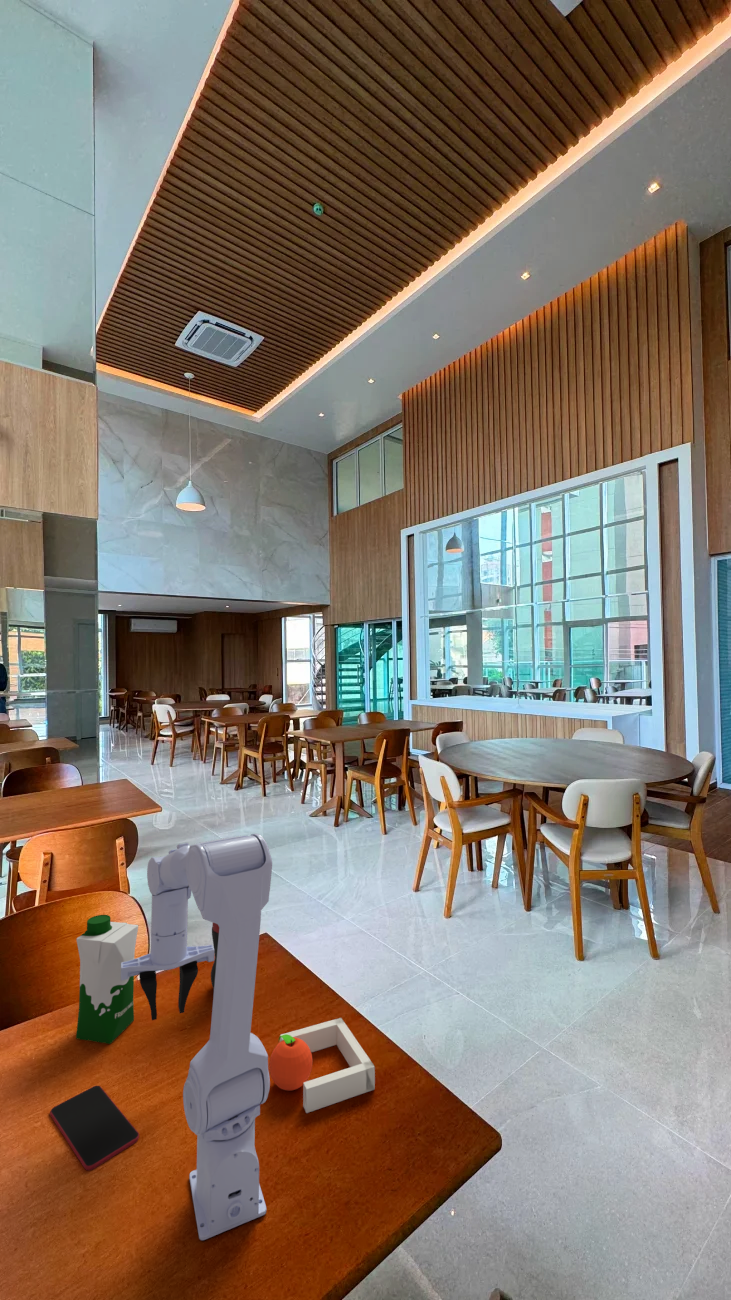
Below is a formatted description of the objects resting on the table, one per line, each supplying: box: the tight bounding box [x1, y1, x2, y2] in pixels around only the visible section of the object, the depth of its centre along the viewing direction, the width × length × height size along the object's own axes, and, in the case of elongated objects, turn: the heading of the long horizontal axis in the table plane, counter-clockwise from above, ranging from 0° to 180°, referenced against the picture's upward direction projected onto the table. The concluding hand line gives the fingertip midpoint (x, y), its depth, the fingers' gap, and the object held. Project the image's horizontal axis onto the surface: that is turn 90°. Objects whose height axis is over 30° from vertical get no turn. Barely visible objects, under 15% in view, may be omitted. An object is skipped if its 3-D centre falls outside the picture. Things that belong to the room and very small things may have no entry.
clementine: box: [268, 1034, 314, 1091], centre depth 89 cm, size 8×7×7 cm
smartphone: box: [49, 1085, 140, 1172], centre depth 80 cm, size 7×1×15 cm
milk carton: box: [75, 914, 139, 1045], centre depth 103 cm, size 9×9×20 cm
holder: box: [279, 1017, 376, 1114], centre depth 92 cm, size 14×12×4 cm
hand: (167, 1013), depth 90 cm, fingers open, 4 cm apart
